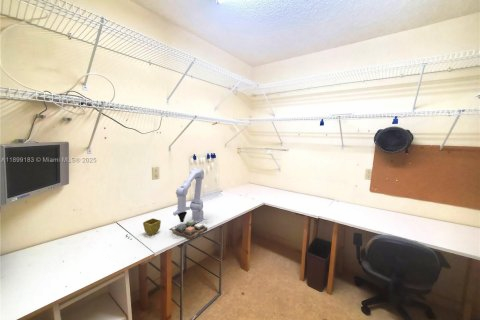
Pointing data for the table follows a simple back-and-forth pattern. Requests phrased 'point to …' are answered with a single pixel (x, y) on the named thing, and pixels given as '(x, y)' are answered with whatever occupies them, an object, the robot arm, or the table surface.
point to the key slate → (181, 226)
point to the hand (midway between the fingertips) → (181, 221)
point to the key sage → (190, 222)
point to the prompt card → (174, 227)
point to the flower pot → (152, 226)
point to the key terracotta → (190, 229)
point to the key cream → (198, 225)
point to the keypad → (190, 235)
